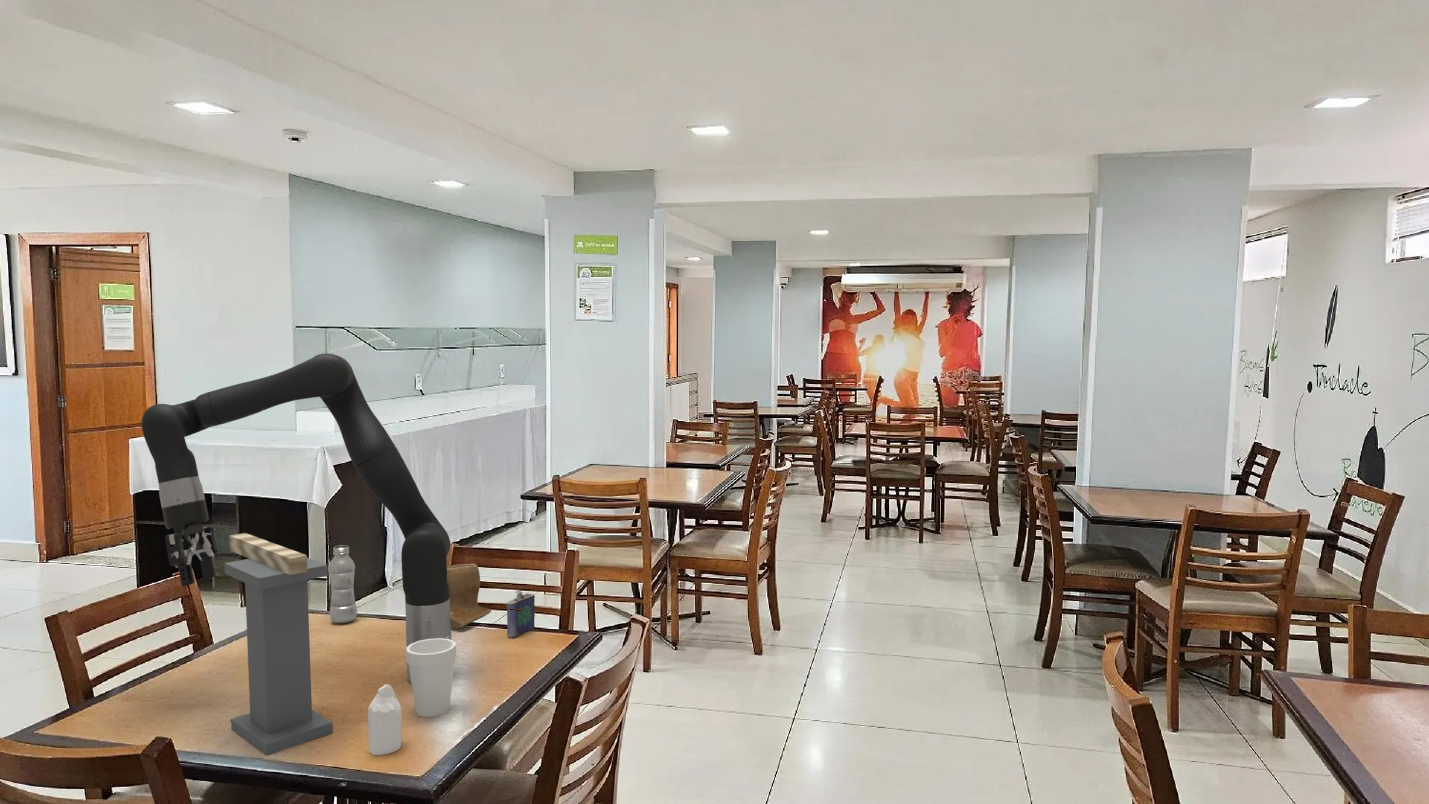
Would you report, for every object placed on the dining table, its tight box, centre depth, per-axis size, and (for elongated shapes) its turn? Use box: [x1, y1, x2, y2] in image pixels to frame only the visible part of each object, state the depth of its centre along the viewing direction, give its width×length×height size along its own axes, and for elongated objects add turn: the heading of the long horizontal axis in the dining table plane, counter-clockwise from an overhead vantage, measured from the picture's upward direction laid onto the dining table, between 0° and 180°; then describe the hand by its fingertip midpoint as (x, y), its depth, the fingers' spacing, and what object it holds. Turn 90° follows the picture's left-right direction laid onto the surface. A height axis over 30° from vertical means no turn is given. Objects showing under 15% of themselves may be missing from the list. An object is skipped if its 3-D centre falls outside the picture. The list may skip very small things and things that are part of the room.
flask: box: [506, 590, 536, 639], centre depth 219 cm, size 9×3×11 cm, turn 151°
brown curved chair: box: [447, 563, 492, 630], centre depth 228 cm, size 15×12×15 cm
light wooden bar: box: [228, 532, 308, 575], centre depth 165 cm, size 28×3×3 cm, turn 49°
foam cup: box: [405, 638, 457, 718], centre depth 173 cm, size 10×9×13 cm
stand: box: [224, 557, 334, 756], centre depth 163 cm, size 16×12×32 cm
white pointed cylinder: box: [367, 683, 403, 756], centre depth 157 cm, size 6×12×6 cm
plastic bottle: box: [327, 544, 358, 624], centre depth 228 cm, size 6×7×20 cm
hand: (199, 581), depth 175 cm, fingers open, 8 cm apart
